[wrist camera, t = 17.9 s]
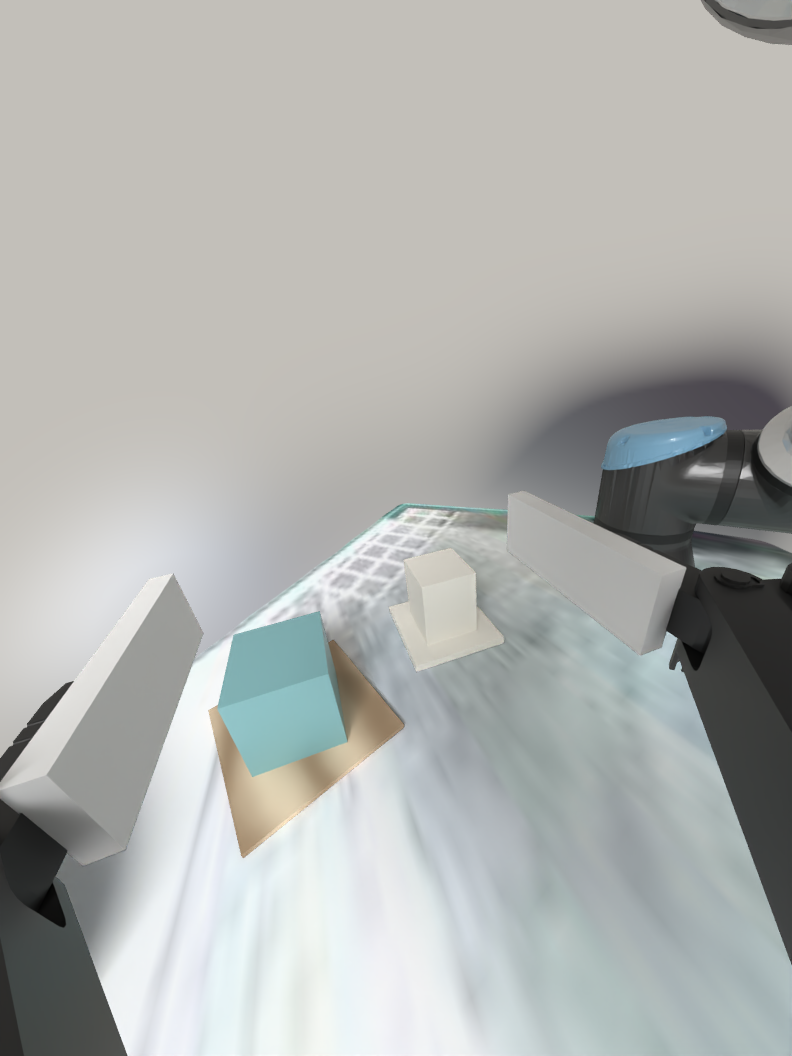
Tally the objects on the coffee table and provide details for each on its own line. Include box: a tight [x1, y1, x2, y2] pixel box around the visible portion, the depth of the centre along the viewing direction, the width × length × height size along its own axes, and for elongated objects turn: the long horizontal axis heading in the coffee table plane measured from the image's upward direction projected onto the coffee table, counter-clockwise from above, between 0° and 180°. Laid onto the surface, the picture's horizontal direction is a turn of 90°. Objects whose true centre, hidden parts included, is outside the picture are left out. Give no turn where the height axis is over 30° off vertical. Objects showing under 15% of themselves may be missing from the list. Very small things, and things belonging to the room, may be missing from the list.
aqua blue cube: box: [217, 611, 347, 777], centre depth 33 cm, size 9×9×10 cm
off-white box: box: [389, 548, 504, 672], centre depth 44 cm, size 12×12×10 cm
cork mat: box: [208, 640, 404, 858], centre depth 36 cm, size 16×16×1 cm
